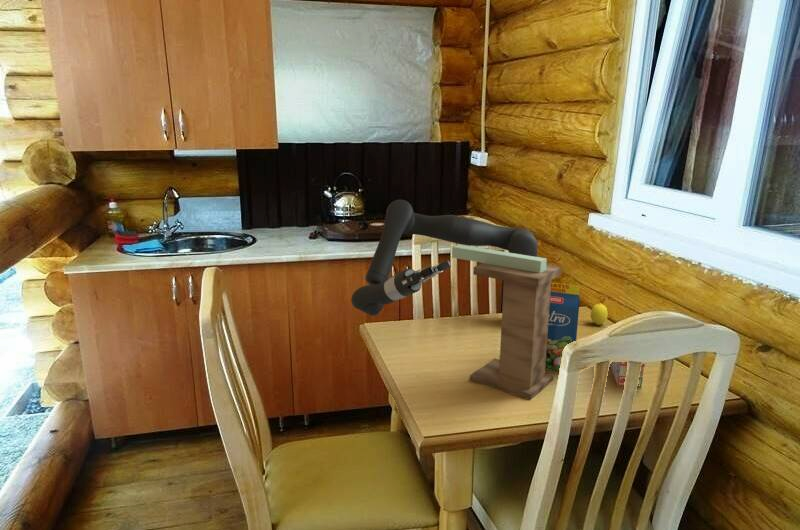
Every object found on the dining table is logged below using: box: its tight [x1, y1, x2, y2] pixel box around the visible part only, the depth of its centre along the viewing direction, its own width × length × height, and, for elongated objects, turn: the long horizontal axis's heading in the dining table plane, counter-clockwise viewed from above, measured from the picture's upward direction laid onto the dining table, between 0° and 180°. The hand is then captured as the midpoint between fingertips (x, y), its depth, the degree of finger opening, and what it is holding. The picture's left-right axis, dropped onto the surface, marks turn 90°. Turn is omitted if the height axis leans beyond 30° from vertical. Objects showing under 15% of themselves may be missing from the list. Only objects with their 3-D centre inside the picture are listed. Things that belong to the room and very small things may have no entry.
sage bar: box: [451, 244, 547, 273], centre depth 149 cm, size 4×26×3 cm, turn 52°
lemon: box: [590, 302, 608, 326], centre depth 194 cm, size 6×6×8 cm
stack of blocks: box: [607, 325, 645, 388], centre depth 159 cm, size 21×6×12 cm, turn 169°
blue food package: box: [545, 281, 581, 372], centre depth 159 cm, size 6×12×25 cm, turn 67°
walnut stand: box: [469, 263, 563, 401], centre depth 150 cm, size 14×18×32 cm
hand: (441, 266), depth 161 cm, fingers open, 8 cm apart
